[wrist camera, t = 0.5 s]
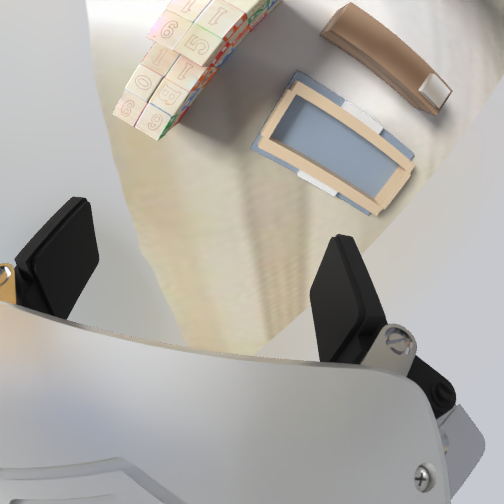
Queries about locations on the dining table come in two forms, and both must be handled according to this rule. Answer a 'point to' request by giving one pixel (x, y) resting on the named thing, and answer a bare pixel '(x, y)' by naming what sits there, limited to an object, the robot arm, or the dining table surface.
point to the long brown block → (387, 57)
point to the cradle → (334, 146)
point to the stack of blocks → (185, 58)
